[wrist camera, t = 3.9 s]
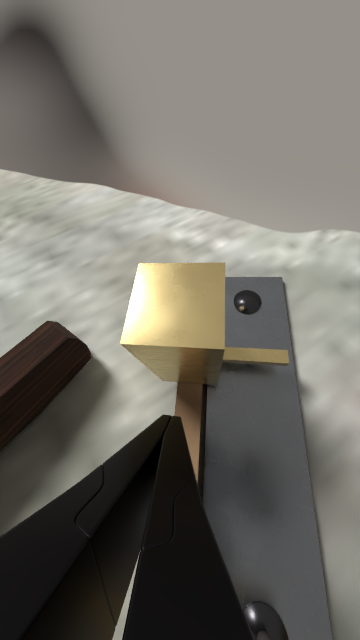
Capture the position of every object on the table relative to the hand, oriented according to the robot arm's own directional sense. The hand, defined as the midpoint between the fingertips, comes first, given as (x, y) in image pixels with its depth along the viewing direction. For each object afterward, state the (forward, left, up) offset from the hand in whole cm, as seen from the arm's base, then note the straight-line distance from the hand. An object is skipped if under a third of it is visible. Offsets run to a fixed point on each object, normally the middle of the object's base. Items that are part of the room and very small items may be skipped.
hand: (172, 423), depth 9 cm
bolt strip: (-2, -4, -8) cm, 10 cm away
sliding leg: (+3, -5, -7) cm, 9 cm away
